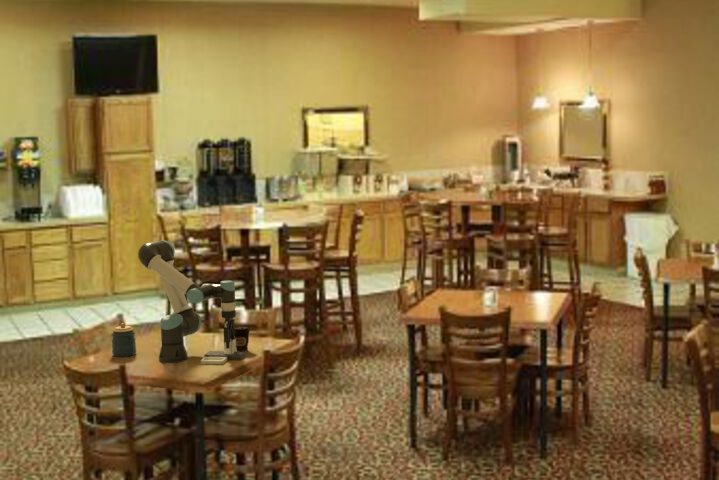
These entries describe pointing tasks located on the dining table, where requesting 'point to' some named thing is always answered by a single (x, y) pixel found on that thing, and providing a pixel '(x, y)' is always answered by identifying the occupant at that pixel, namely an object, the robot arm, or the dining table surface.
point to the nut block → (233, 347)
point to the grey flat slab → (237, 356)
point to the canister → (123, 341)
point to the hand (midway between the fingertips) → (230, 352)
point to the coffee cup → (242, 338)
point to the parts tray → (213, 360)
